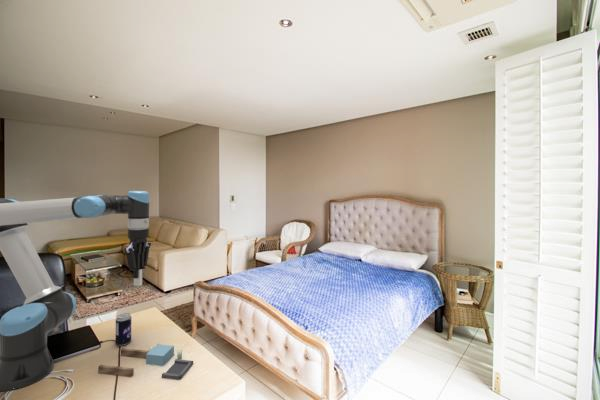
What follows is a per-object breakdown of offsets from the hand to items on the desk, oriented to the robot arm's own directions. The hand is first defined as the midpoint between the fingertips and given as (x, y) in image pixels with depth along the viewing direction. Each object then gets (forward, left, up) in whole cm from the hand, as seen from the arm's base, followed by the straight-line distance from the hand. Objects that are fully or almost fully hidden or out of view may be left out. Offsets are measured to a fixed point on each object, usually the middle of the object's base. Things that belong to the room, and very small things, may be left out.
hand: (138, 285), depth 114 cm
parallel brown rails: (+4, -11, -26) cm, 29 cm away
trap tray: (+24, -11, -26) cm, 38 cm away
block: (+14, -6, -27) cm, 31 cm away
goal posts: (+15, -4, -26) cm, 31 cm away
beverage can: (-8, +2, -27) cm, 28 cm away
